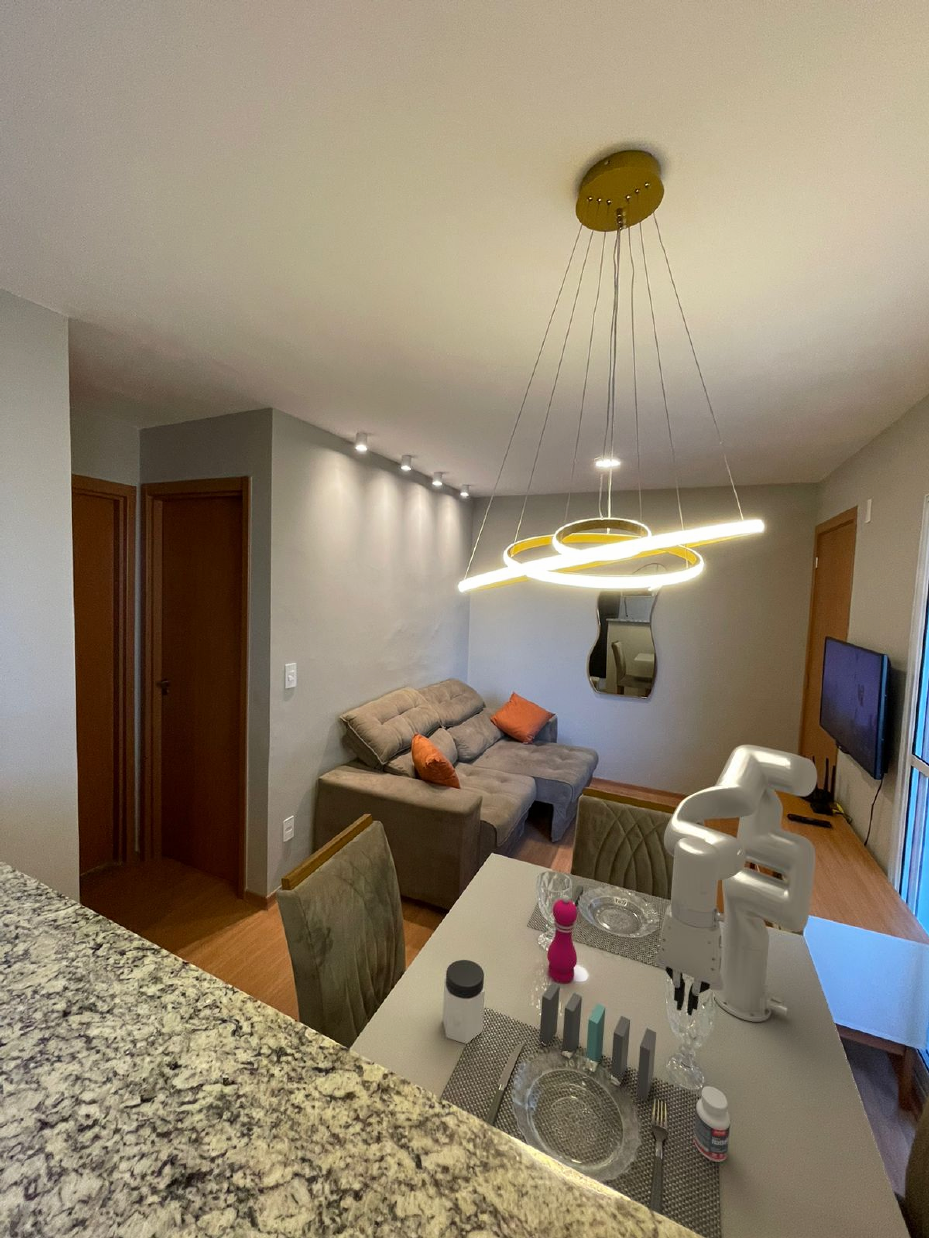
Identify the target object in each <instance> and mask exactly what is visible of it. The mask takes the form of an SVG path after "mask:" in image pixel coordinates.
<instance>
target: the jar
mask: <svg viewBox="0 0 929 1238" xmlns="http://www.w3.org/2000/svg"><path fill="white" fill-rule="evenodd" d="M445 972H446V973H445V979H444V987H443V989H444V990H443V1002H442V1003H443V1004H442V1006H443V1008H442V1024H443V1029H444V1034H445V1037H446V1039H448V1040H449V1039H450V1040H453V1041H455V1042H459V1043H462V1044H466V1045H467V1044H469V1043H470V1042H471V1040H472V1039H473V1038H474V1039H475V1037H476V1036H477V1035H478V1036H479V1034H480V1033H481V1032H482V1033H483V1024H484V1012H485V1011H484V1010H485V1009H484V1008H485V1007H484V1006H485V995H486V994H485V993H486V989H485V987H484V981H485V979H484V978H485V973H484V969H483V967H481V966H480V965H479V964H478V963H476V962H475V961H473V960H468V959H461V960H455V961H454V962H452V963H451V964H450V965H448V966H447V968H446V970H445ZM482 1033H481V1034H482ZM481 1034H480V1035H481ZM478 1036H477V1037H478ZM477 1037H476V1038H477ZM474 1039H473V1040H474ZM473 1040H472V1041H473Z"/></svg>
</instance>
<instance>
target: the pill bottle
mask: <svg viewBox="0 0 929 1238" xmlns="http://www.w3.org/2000/svg"><path fill="white" fill-rule="evenodd" d="M730 1118H731V1117H730V1114H729V1111H728V1100H727V1098H726V1096H725V1095H724V1093H723V1092H722V1091H721V1090H719V1089H718V1088H716V1087H713V1086H709V1085H708V1086H705V1087H703V1088H702V1090H701V1097H700V1099H698V1101H697V1103H696V1106H695V1116H694V1130H693V1142H694V1144H695V1147H696V1148H697V1150H698V1151H699V1152H700V1154H701V1155H702V1156H703V1157H704V1158H706V1159H708V1160H709V1161H712V1162H716V1163H721V1162H723V1161H725V1160H726V1159H727V1157H728V1152H729V1141H730V1140H729V1138H730V1129H731V1119H730Z"/></svg>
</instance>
